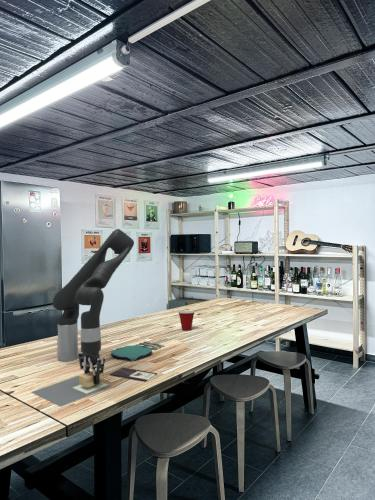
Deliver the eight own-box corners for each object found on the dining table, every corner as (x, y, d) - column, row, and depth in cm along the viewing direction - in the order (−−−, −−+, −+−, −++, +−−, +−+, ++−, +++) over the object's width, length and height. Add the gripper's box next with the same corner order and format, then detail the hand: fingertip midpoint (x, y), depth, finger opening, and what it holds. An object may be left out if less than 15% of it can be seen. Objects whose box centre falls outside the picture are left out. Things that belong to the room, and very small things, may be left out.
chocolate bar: (122, 367, 160) (157, 373, 152) (122, 369, 160) (157, 375, 152) (109, 374, 152) (145, 380, 144) (109, 376, 152) (145, 383, 144)
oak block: (96, 378, 143) (96, 369, 143) (104, 381, 140) (104, 371, 140) (79, 384, 137) (78, 375, 137) (87, 387, 134) (86, 378, 134)
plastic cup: (195, 327, 234) (195, 309, 233) (194, 331, 223) (194, 312, 223) (179, 327, 235) (178, 309, 234) (177, 331, 224) (176, 312, 224)
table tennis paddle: (102, 357, 177) (102, 352, 177) (142, 343, 202) (142, 339, 202) (133, 364, 166) (133, 359, 166) (171, 348, 191) (171, 344, 191)
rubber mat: (30, 393, 134) (30, 391, 134) (81, 376, 151) (81, 374, 151) (60, 408, 122) (60, 406, 122) (111, 387, 139) (111, 385, 139)
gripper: (110, 339, 137) (111, 383, 137) (87, 334, 146) (88, 375, 146) (94, 343, 131) (95, 390, 131) (71, 338, 140) (72, 381, 140)
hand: (91, 382), depth 139 cm, fingers closed on oak block, 5 cm apart
